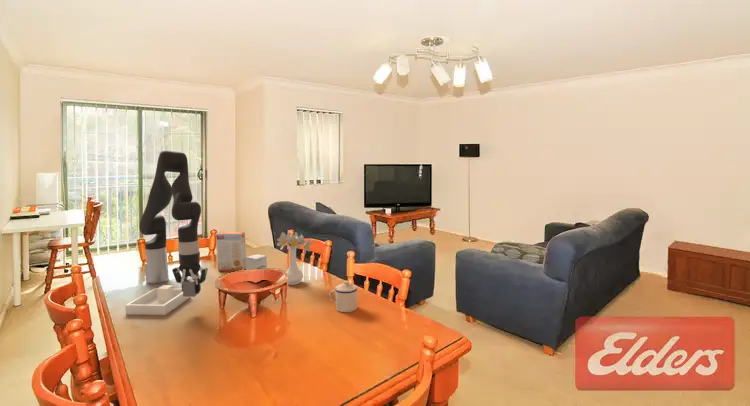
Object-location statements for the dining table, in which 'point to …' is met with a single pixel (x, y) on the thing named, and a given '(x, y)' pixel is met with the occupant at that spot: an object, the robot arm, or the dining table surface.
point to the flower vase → (293, 254)
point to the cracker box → (231, 251)
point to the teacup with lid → (345, 297)
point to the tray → (154, 304)
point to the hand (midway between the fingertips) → (191, 292)
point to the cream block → (165, 293)
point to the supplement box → (256, 262)
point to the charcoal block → (189, 288)
